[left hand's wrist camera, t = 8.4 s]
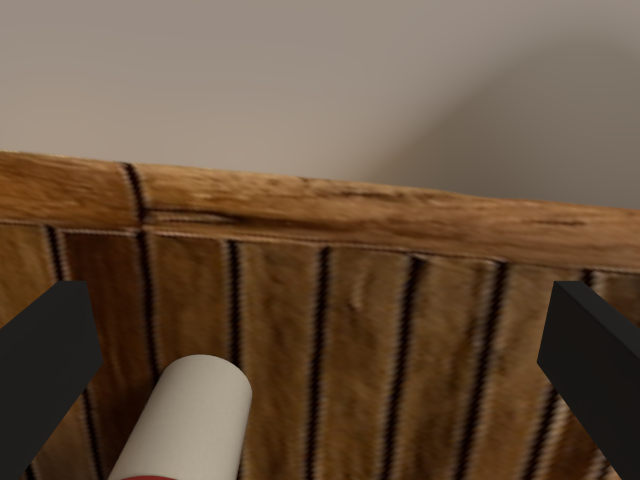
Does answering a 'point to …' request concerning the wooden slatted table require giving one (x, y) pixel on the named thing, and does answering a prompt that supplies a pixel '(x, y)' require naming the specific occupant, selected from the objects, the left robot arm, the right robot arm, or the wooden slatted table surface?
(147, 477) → the lid
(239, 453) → the jar
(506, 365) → the wooden slatted table surface
